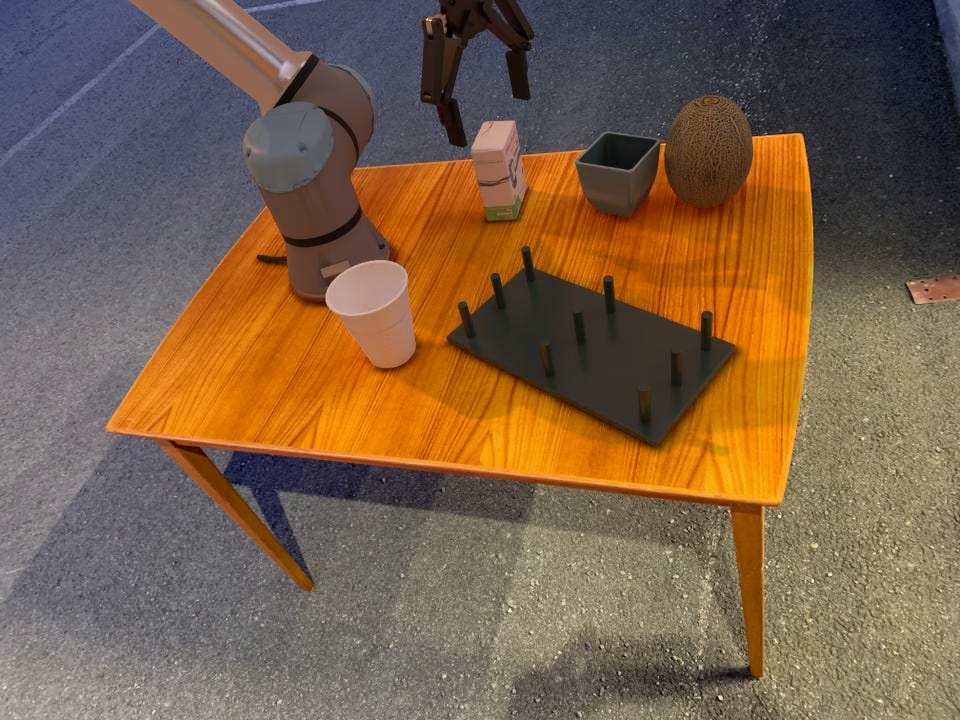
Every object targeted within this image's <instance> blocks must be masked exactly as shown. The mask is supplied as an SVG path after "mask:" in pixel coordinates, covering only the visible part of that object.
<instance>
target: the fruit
mask: <svg viewBox="0 0 960 720" xmlns="http://www.w3.org/2000/svg"><path fill="white" fill-rule="evenodd" d="M753 160H754V143H753V134H752V129H751V127H750V123H749V121H748V118H747V117H746V115H745V113H744V112H743V110H742V109H741V108H740V106H739V105H738V104H737V103H736V102H735V101H734V100H732V99H730V98H728V97H726V96H723V95H722V96H721V95H716V94H714V95H713V94H708V95H704V96H700V97H697V98H695V99H692V100H691V101H690V102H688V103H687V104H685V106H684V107H682V109H681V110H680V111H679V112H678V114H677V115H676V117H675V118H674V120H673V122H672V124H671V126H670V128H669V131H668V134H667V136H666V140H665V145H664V151H663V162H664V171H665V175H666V178H667V182H668V184H669V187H670V188H671V189H672V191H673V193H674V195H675V196H676V197H677V198H678V199H679V200H680V201H681V202H682V203H684V204H686V205H688V206H690V207H693V208H697V209H710V208H711V209H712V208H715V207H717V206H721V205H723V204H724V203H727V202H728V201H730V200H731V199H733V197H734V196H736V195H737V193H738V192H739V191H740V190H741V189H742V187H743V186H744V185H745V182H746V181H747V178H748V177H749V174H750V172H751V168H752V166H753V165H752V164H753Z"/></svg>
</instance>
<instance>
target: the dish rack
mask: <svg viewBox="0 0 960 720" xmlns="http://www.w3.org/2000/svg"><path fill="white" fill-rule="evenodd" d="M520 252H521V253H520V254H521V257H522V263H523V267H522V268H521V269H520V270H519V271H518V272H517V273H516V274H515V275H514V276H513V277H511V278H510V279H509V280H508V281H506V283H505V284H503V283H502V280H501V279H502V278H501V275H500V273H499V272H493V273H490V276H489V279H490V282H491V286H492V291H493V294H492V295H491V296H490V297H489V298H488V299H486V301H484V302H483V303H482V304H481V305H480V306H479V307H477V308H476V310H474V311H473V312H472V313H471V312H470V308H469V305H468V302H467V301H465V300H462V301H459V302H458V303H457V310H458V313H459V316H460V320H461V323H460V324H459V325H458V326H457V327H456V328H454V329H453V330H452V331H451V332H450V333H449V334H448V335H446V337H445V338H446V342H447V343H448V344H450V345H452V346H453V347H456V348H458V349H460V350H462V351H463V352H465V353H467V354H469V355H471V356H473V357H476V358H478V359H479V360H481V361H483V362H485V363H487V364H488V365H492V366H493V367H495V368H497V369H499V370H501V371H503V372H504V373H506V374H509V375H511V376H512V377H515V378H517V379H519V380H521V381H523V382H525V383H527V384H529V385H531V386H532V387H535V388H537V389H538V390H541V391H542V392H545V393H546V394H548V395H550V396H552V397H554V398H556V399H558V400H560V401H562V402H564V403H567V404H569V405H570V406H572V407H573V408H576V409H578V410H580V411H582V412H584V413H587V415H590V416H592V417H594V418H596V419H598V420H600V421H601V422H604V423H606V424H608V425H609V426H612V427H614V428H615V429H617V430H619V431H621V432H624V433H626V434H627V435H629V436H631V437H633V438H635V439H637V440H638V441H641V442H643V443H645V444H647V445H649V446H651V447H653V448H654V449H657V448H658V447H660V445H661V443H662V442H663V441H664V440H665V438H666V437H668V435H669V434H670V432H671V431H672V430H673V429H674V427H675V426H676V425H677V424H678V423H679V421H680V420H681V418H682V417H683V416H685V414H686V413H687V411H688V410H689V409H690V407H692V405H693V404H694V403H695V401H696V400H697V399H698V398H699V396H700V395H701V394H702V393H703V392H704V390H705V389H706V388H707V386H708V385H709V384H710V383H711V382H712V380H714V378H715V377H716V375H717V374H718V373H719V371H721V369H722V368H723V367H724V366H725V364H726V363H727V362H728V360H729V359H730V358H731V357H732V355H733V354H734V353H736V347H737V345H736V344H735V343H733V342H730V341H727V340H724V339H722V338H720V337H717V336H713V327H714V325H713V324H714V323H713V322H714V313H713V312H712V311H710V310H704V311H702V312H701V313H700V330H698V329H697V328H693V327H690V326H687V325H685V324H682V323H680V322H677V321H674V320H672V319H669V318H666V317H664V316H661V315H659V314H656V313H654V312H650V311H648V310H645V309H643V308H640V307H638V306H635V305H632V304H630V303H627V302H625V301H621V300H619V299H616V293H615V284H614V283H615V281H614V276H613V275H610V274H607V275H604V276H603V278H602V285H603V293H602V292H598V291H596V290H593V289H591V288H588V287H585V286H583V285H580V284H577V283H574V282H572V281H569V280H567V279H564V278H561V277H560V276H559V277H558V276H556V275H554V274H551V273H548V272H545V271H543V270H540V269H537V268H536V267H534V260H533V255H532V250H531V246H530V245H524V246H522V247H521V248H520Z"/></svg>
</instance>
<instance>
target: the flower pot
mask: <svg viewBox="0 0 960 720" xmlns="http://www.w3.org/2000/svg"><path fill="white" fill-rule="evenodd" d="M661 145H662V139H661V138H657V137H651V136H642V135H635V134H627V133H621V132H614V131H604V132H602V133H601V134H600V135H599V136H598V137H597V138H596V139H595V140H594V141H593V142H592V143H590V145H589V146H588V147H587V148H586V149H585V150H584V151H583V152H582V153H581V154H580V155H579V156H578V157H577V158H576V159H575V160H574V164H575V168H576V172H577V177H578V180H579V183H580V187H581V189H582V192H583V195H584V198H586V200H587V201H588V203H589V204H590V205H591V206H592V207H593V208H594V209H595V210H596V211H597V212H599V213H603V214H608V215H612V216H617V217H622V218H631V217H632V215H634V213H635V212H636V211H637V210H638V208H639V207H640V206H641V205H642V204H643V203H644V201H646V199H647V197H648V196H649V194H650V192H651V190H652V189H653V186H654V184H655V180H656V177H657V175H658V171H659V169H658V168H659V162H660V153H661Z"/></svg>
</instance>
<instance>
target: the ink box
mask: <svg viewBox="0 0 960 720" xmlns="http://www.w3.org/2000/svg"><path fill="white" fill-rule="evenodd" d="M470 149H471V150H470V155H471V160H472V163H473V169H474V173H475V177H476V181H477V186H478V190H479V193H480V198H481V202H482V206H483V210H484V214H485V219H486V221H488V222H493V221H494V222H495V221H511V220H512V221H513V220H514V221H515V220H518V216H519V213H520V211H521V207H522V204H523V201H524V198H525V194H526V192H527V189H528V188H527V182H526V175H525V170H524V169H525V168H524V163H523V159H522V153H521V148H520V139H519V134H518V129H517V125H516V120H493V121H488V120H487V121H484V122H483V123H482V124H481V127H480V129H479V131H478V133H477V135H476V137H475V139H474V141H473V143H472V146H471V147H470Z"/></svg>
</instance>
